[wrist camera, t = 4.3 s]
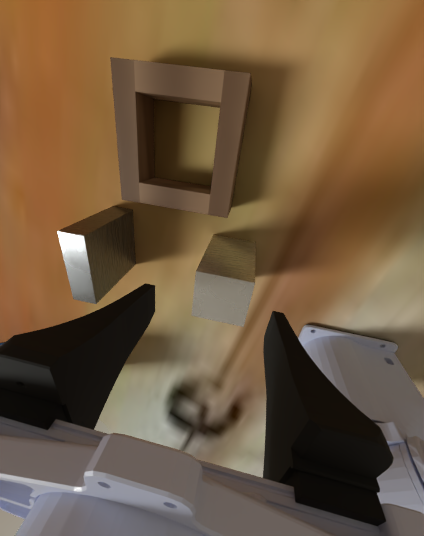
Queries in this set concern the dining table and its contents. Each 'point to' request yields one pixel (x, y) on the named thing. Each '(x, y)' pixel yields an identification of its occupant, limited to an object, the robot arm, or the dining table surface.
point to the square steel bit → (225, 280)
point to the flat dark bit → (98, 252)
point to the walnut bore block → (142, 131)
